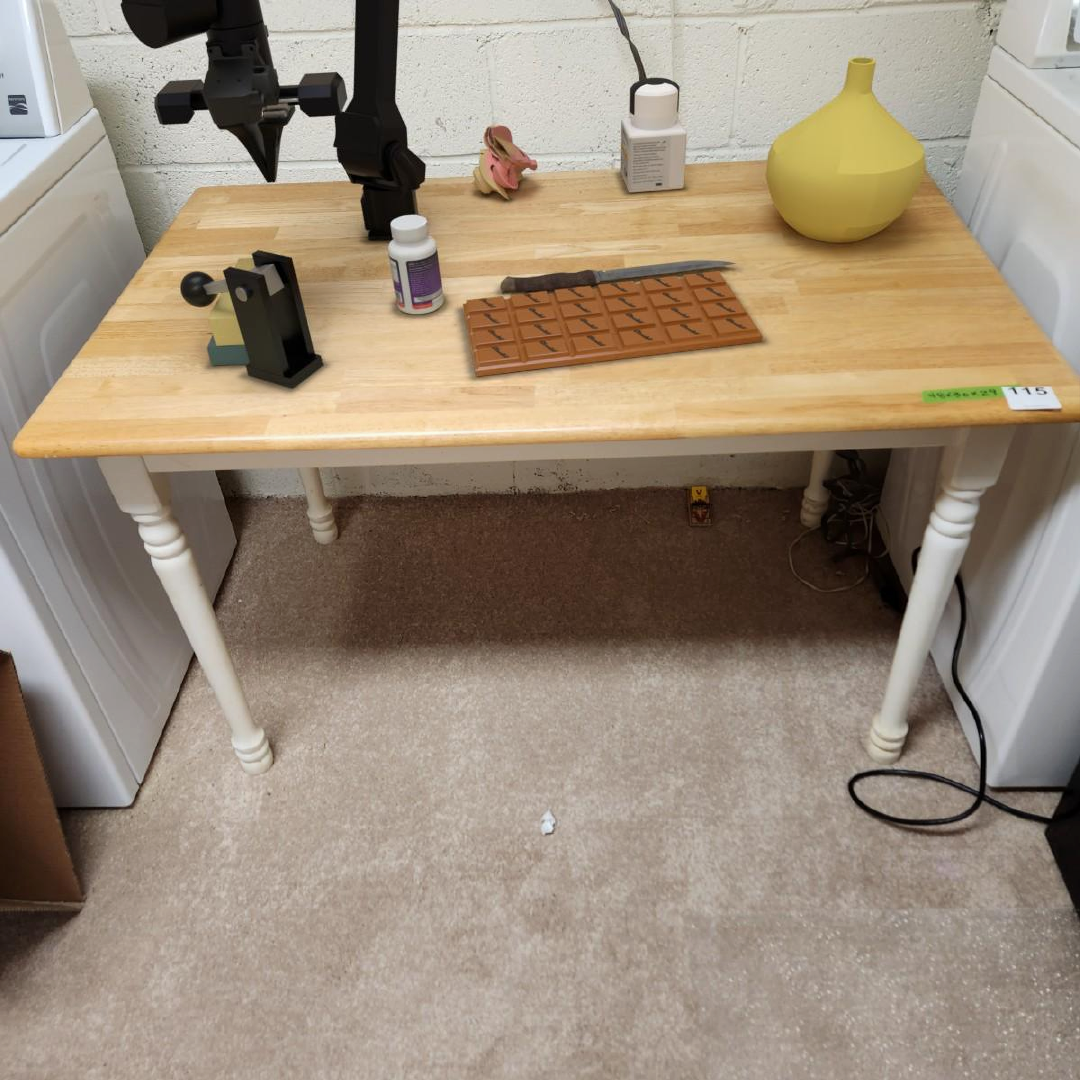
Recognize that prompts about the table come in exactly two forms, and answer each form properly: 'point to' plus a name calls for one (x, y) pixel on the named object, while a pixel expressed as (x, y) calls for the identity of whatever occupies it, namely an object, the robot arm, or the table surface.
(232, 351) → the butter dish
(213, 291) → the lever handle
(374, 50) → the robot arm
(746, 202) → the table surface
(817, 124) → the vase
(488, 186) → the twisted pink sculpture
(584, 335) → the chocolate bar
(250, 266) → the butter
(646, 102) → the container
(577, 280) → the knife
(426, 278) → the pill bottle
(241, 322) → the stand
